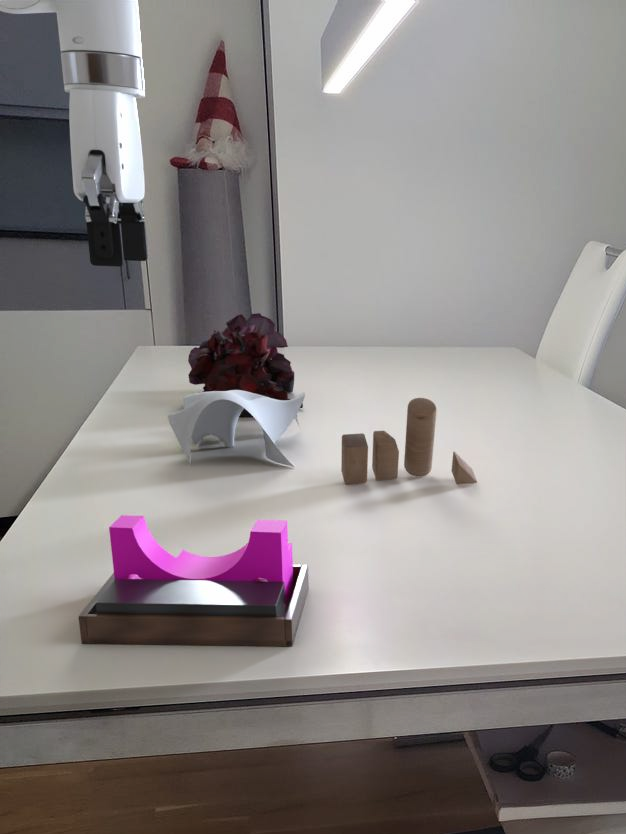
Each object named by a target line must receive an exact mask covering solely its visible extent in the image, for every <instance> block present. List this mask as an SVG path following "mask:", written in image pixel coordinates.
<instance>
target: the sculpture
mask: <svg viewBox="0 0 626 834" xmlns="http://www.w3.org/2000/svg"><path fill="white" fill-rule="evenodd" d="M305 397H306V392H301V393H300V394H298V395H296V396H295V397H294V398H290V399H291V400H276V399H272V398H269V397H266V396H262V395H258V394H254V393H251V392H247V391H242V390H229V391H210V392H196V393H190V394H186V395H184V397H183V400H182V404H183V405H182V406H183V409H181V410H178V411H176V412H173V413H168V414H167V419H168V423H169V425H170V427H171V429H172V432H173V434H174V436H175V438H176V440H177V442H178V444H179V445H180V448H181V449H182V452H183V454H184V456H185V457H186V459H187V461H188V463H189V465H190V466H192V459H191V445H192V441H193V443H194V444H195V445H196V446H197V447H199V446H200V443H201V441H202V439H203V438H204V437H206V436H213V437H216V438H217V439H219V440H220V441H221V442H222V444H223V445H224V446H225V447H227V448H232V447H235V434H236V429H237V424H238V421H239V419H240V417H239V416H240V414H241V412H242V411H243V409H244V408H245V409H246V410H247V411H248V412H249V413H250V414H251V415H252V416H253V417H252V418H254V419H255V421H256V422H257V423H258V424H259V426H260V427H261V429H262V433H263V438H264V448H265V457H266V458H267V459H268V460H269V461H272V462H273V463H276V464H280V465H284V466H288V467H293V468H296V466H295V465H294V464H293V463H291V462H290V461H289V460H288V459H287V457H286V456H285V455H284V454H283V453H282V452H281V450H280V449H279V447H278V446H277V444H276V442H277V441H278V440H279V439H280V438H281V437H282V436H283V435H284V434H285V432H287V430H288V428H289V427H290V426H291V424H292V423H293V421H294V420H295V422H296V424H297V425H298V427H299V428H301V426H300V423H299V420H298V412H299V410H300V409H301V408H300V407H301V405H302V402H303V403H304V399H305Z"/></svg>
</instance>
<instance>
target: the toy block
mask: <svg viewBox="0 0 626 834" xmlns="http://www.w3.org/2000/svg"><path fill="white" fill-rule="evenodd" d="M108 531H109V540H110V548H111V549H110V550H111V558H112V567H113V568H112V569H113V573H114V578H115V579H159V580H215V581H271V582H284V585H285V607H286V605H287V602H288V600H289V598H290V595H291V593H292V590H293V588H294V587H293V565H294V564H293V563H294V562H293V561H294V560H293V559H294V558H293V542H289V533H288V532H289V531H288V520H287V519H257V520H256V521H255V523H254V525H253V526H252V528H251V530H250V532H249V538H248V542H247V543H246V544H245V545H244V546H242V547H240V548H239V549H238V550H235V551H234V552H231V553H227V554H224V555H218V556H205V555H200V554H195V553H192V552H189V551H187V550H186V549H182V550H181V551H180V553H179V554H178V556H177V557H175V556H173V554H171V553H170V552H168V550H166V549H164V548H163V547H162V546H161V545H160V544H159V542H157V540H156V539H155V537H154V536H153V534H152V533H151V531H150V529H149V527H148V524H147V521H146V518H145V515H127V514H126V515H125V514H122V515H120V516H119V517H118V518H117V519H116V520H115V521H114V522H113V523H112V524H111V525H110V526H109V527H108ZM139 576H140V577H141V578H140V577H139Z"/></svg>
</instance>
